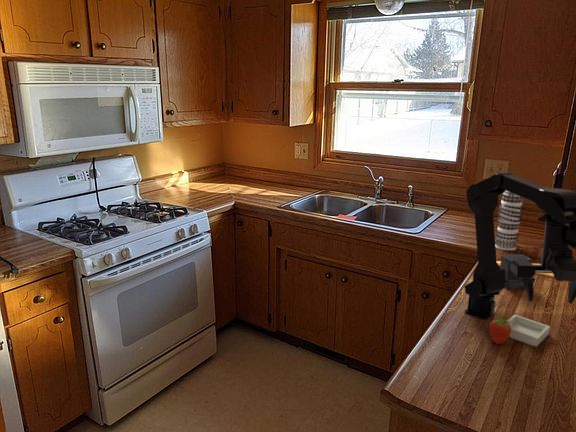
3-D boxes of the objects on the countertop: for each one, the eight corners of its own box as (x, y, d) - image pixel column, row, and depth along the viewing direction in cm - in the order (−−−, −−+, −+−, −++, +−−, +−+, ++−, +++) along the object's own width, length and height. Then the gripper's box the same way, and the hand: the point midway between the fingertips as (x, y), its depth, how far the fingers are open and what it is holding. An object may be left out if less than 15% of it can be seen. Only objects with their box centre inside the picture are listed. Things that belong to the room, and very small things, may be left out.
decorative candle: (522, 249, 191) (531, 192, 185) (504, 251, 189) (512, 193, 182) (506, 242, 200) (514, 187, 193) (489, 244, 197) (496, 188, 191)
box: (518, 282, 159) (522, 253, 156) (528, 288, 154) (533, 259, 151) (497, 282, 158) (501, 254, 155) (506, 289, 153) (510, 260, 150)
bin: (500, 333, 125) (501, 325, 124) (513, 322, 131) (514, 314, 131) (536, 347, 118) (537, 338, 118) (548, 334, 125) (550, 326, 124)
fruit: (483, 339, 122) (486, 313, 120) (498, 336, 124) (501, 309, 122) (498, 350, 117) (502, 322, 115) (513, 346, 119) (518, 319, 117)
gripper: (528, 250, 103) (522, 314, 107) (617, 252, 101) (608, 317, 104) (512, 238, 114) (506, 295, 118) (592, 239, 111) (584, 298, 115)
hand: (550, 302), depth 113 cm, fingers open, 9 cm apart
